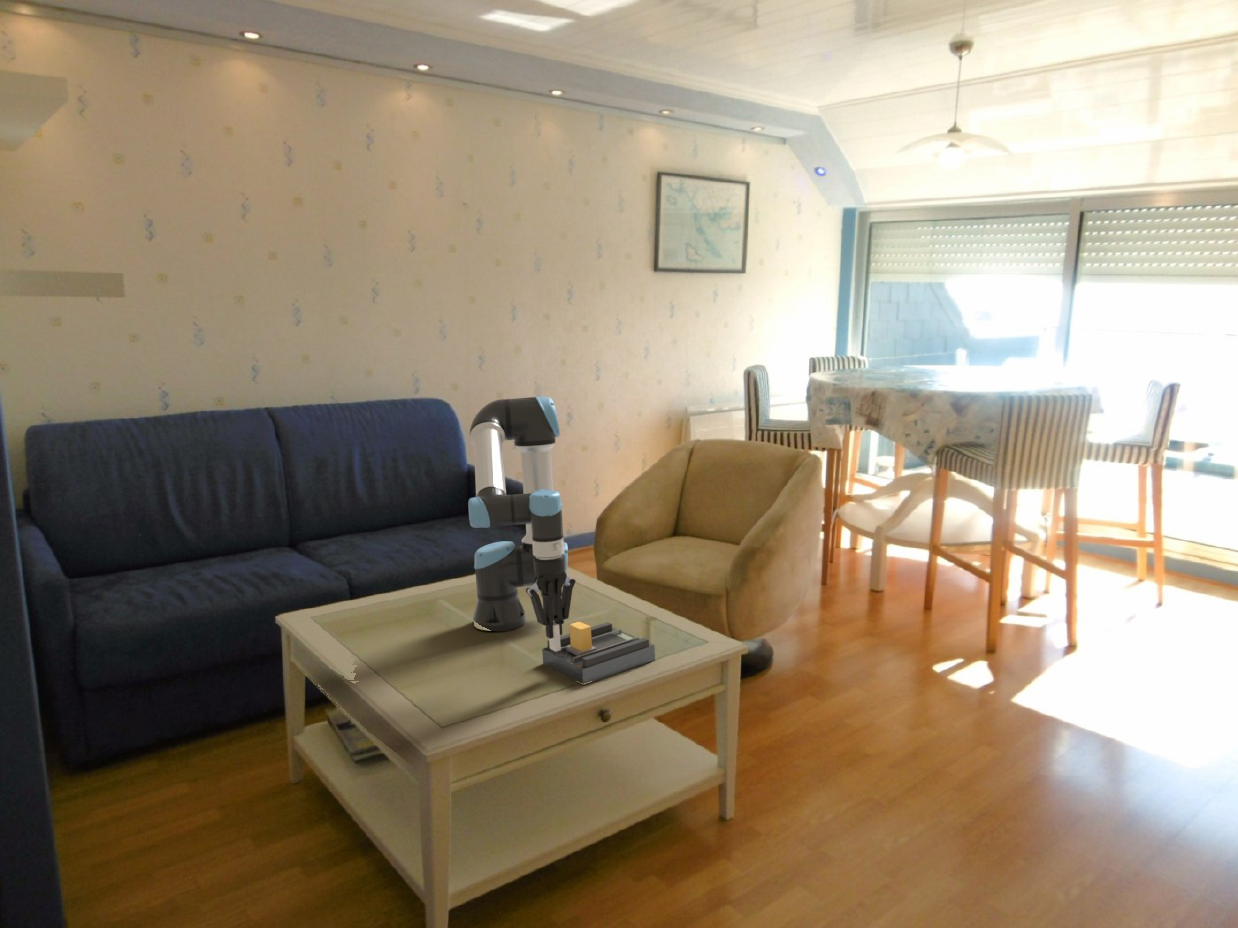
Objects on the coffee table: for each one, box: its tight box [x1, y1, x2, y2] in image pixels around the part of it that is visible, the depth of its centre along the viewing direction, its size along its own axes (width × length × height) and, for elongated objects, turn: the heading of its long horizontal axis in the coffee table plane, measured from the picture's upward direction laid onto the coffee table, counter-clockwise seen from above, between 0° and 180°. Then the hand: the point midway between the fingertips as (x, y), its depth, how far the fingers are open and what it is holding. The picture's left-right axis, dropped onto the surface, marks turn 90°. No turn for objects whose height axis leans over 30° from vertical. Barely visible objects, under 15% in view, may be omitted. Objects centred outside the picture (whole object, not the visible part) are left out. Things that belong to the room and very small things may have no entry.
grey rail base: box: [541, 626, 656, 684], centre depth 221 cm, size 18×22×5 cm
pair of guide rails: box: [546, 622, 650, 667], centre depth 221 cm, size 17×19×2 cm
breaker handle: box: [566, 621, 597, 656], centre depth 218 cm, size 6×5×7 cm
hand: (555, 649), depth 213 cm, fingers closed
